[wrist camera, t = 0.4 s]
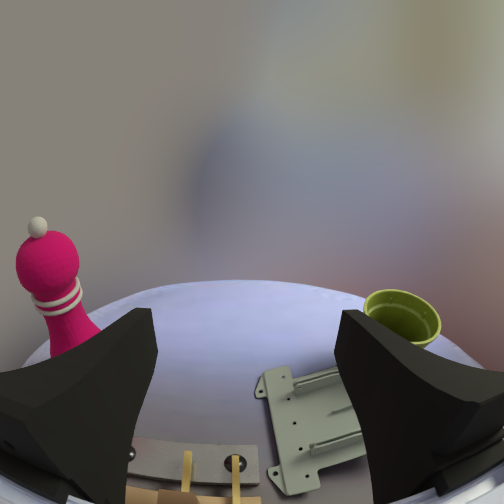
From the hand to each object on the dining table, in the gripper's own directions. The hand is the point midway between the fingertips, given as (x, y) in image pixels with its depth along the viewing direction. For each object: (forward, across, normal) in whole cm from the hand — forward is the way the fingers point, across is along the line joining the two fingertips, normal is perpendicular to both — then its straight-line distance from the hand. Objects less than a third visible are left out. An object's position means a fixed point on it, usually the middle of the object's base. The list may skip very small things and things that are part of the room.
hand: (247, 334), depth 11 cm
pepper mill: (+13, +17, +18) cm, 27 cm away
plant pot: (+16, -17, +18) cm, 29 cm away
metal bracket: (+9, -9, +18) cm, 23 cm away
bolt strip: (+4, +7, +19) cm, 20 cm away
